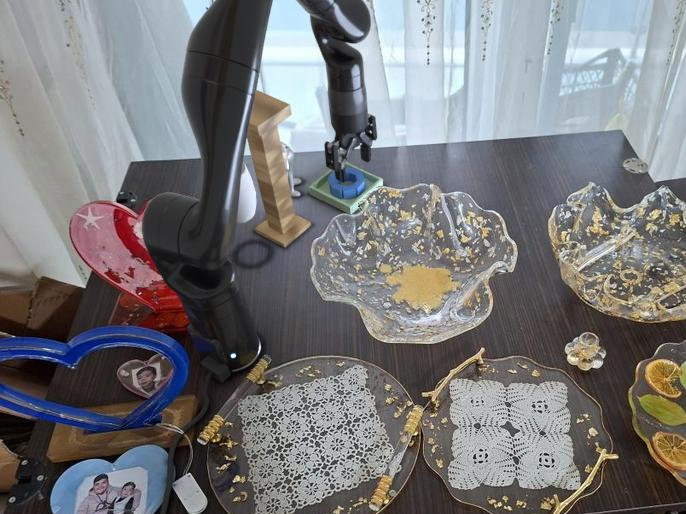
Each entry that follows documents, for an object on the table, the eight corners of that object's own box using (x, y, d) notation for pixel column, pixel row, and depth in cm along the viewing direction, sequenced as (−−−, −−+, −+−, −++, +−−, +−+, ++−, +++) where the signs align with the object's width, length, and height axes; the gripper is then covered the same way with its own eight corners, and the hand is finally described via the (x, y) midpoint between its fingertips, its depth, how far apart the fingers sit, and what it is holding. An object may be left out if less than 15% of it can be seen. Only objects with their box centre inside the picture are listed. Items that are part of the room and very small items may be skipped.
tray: (350, 215, 129) (350, 207, 127) (309, 194, 132) (308, 186, 131) (383, 186, 135) (382, 178, 133) (342, 167, 138) (342, 159, 137)
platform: (284, 248, 122) (257, 126, 100) (255, 232, 125) (222, 110, 103) (311, 225, 126) (290, 104, 104) (282, 210, 129) (255, 89, 107)
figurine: (300, 199, 131) (291, 152, 122) (280, 199, 131) (270, 153, 122) (302, 178, 136) (293, 131, 126) (282, 178, 136) (273, 132, 126)
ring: (351, 203, 130) (350, 195, 128) (322, 191, 132) (321, 182, 130) (371, 184, 134) (370, 175, 132) (342, 172, 136) (342, 163, 135)
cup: (234, 270, 118) (205, 184, 102) (233, 244, 123) (206, 158, 106) (272, 264, 119) (250, 179, 103) (270, 239, 124) (248, 153, 107)
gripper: (339, 127, 115) (347, 194, 127) (385, 93, 122) (387, 160, 135) (309, 113, 117) (319, 181, 130) (355, 81, 125) (360, 148, 137)
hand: (354, 170), depth 132 cm, fingers open, 8 cm apart
